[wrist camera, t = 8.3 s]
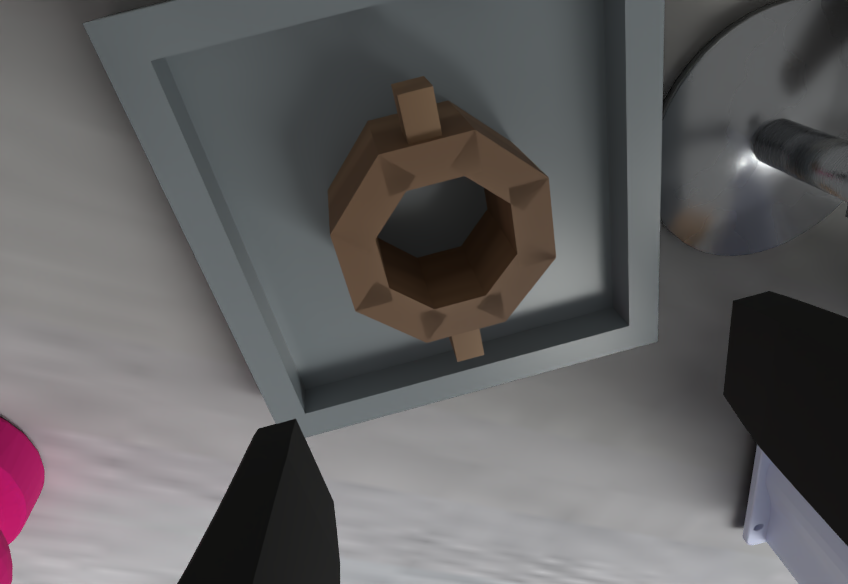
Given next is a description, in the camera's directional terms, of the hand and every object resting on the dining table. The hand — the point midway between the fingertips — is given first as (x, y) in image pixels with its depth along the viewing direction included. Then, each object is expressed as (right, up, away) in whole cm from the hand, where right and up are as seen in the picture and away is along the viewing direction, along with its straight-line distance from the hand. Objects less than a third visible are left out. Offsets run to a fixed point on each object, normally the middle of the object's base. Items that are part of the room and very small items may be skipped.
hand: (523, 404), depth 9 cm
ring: (-2, +4, +7) cm, 9 cm away
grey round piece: (+9, +7, +9) cm, 14 cm away
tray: (-2, +5, +8) cm, 9 cm away
